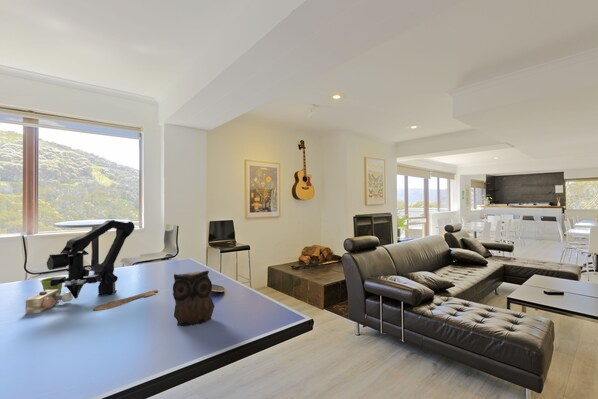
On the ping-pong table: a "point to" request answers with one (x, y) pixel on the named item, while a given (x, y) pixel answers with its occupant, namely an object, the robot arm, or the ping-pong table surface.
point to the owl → (192, 298)
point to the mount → (39, 301)
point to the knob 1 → (48, 302)
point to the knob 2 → (64, 297)
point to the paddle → (123, 301)
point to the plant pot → (47, 285)
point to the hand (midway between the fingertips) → (76, 298)
